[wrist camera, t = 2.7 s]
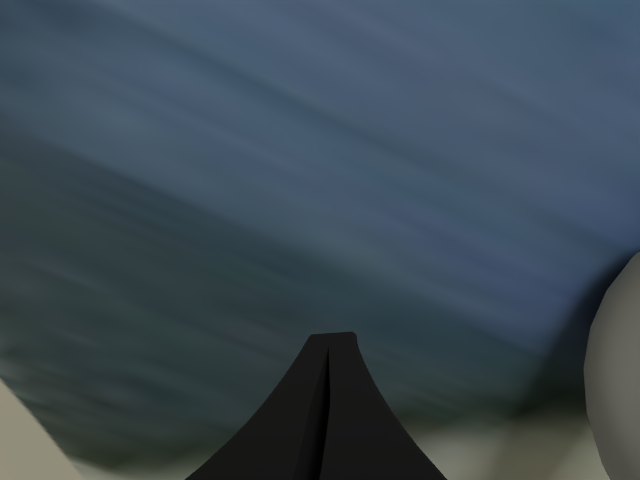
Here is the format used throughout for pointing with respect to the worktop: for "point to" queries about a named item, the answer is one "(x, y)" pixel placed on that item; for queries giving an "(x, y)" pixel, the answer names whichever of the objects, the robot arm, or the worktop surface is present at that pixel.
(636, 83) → the worktop surface
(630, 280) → the donut
